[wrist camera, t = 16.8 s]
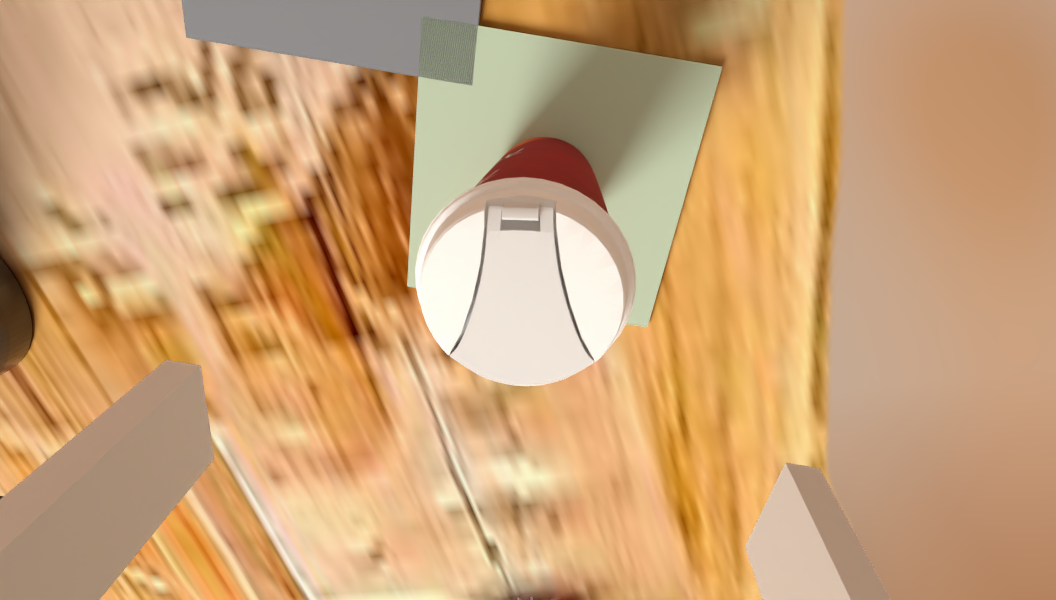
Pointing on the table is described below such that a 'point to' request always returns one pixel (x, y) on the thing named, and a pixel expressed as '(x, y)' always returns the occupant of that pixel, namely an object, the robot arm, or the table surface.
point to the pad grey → (341, 30)
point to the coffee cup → (527, 269)
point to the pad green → (566, 131)
